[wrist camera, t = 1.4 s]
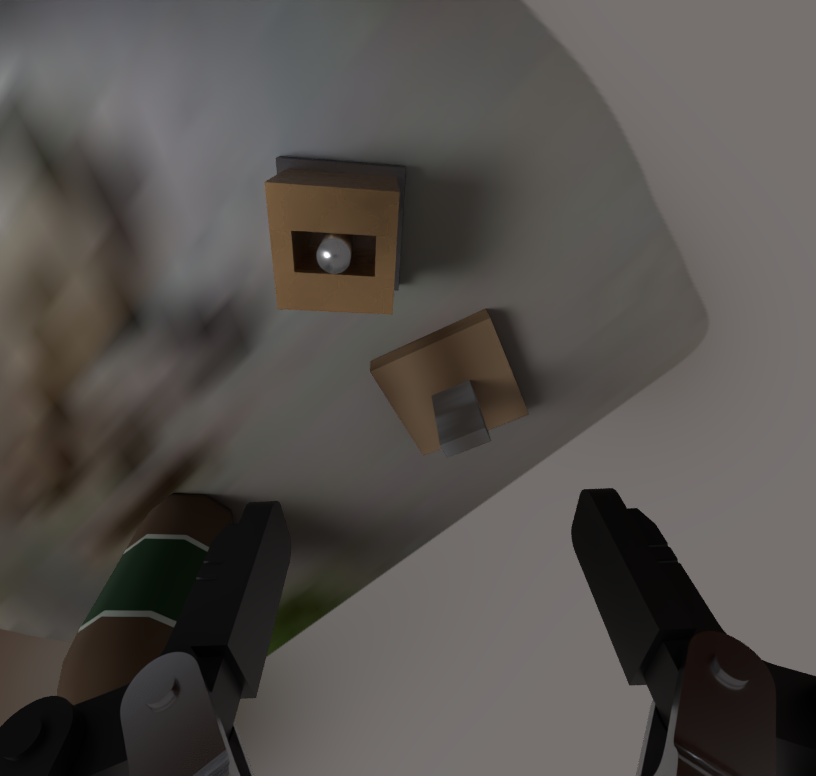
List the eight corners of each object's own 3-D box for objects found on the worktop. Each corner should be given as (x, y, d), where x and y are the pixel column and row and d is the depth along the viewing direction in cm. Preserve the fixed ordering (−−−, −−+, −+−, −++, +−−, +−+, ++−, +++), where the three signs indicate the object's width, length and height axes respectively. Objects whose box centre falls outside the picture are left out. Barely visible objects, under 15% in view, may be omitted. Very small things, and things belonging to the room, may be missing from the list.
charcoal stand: (289, 279, 27) (266, 321, 22) (279, 156, 23) (248, 170, 18) (397, 285, 28) (401, 327, 22) (405, 165, 24) (411, 182, 18)
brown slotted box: (294, 277, 26) (277, 309, 22) (286, 169, 23) (264, 182, 19) (390, 282, 27) (392, 314, 22) (396, 177, 23) (399, 191, 19)
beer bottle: (225, 552, 42) (83, 953, 22) (143, 531, 40) (-100, 958, 20) (249, 505, 38) (105, 931, 18) (160, 478, 36) (-116, 935, 16)
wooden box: (421, 443, 35) (429, 509, 30) (370, 361, 31) (367, 419, 25) (523, 402, 34) (553, 464, 28) (485, 308, 29) (511, 358, 23)
